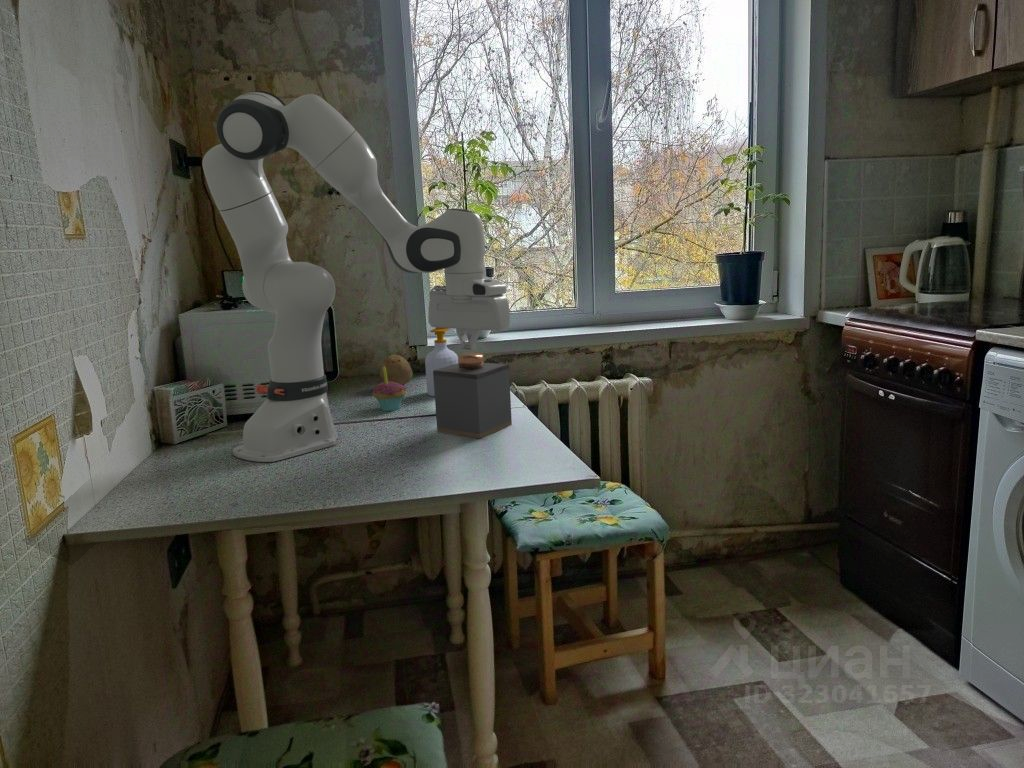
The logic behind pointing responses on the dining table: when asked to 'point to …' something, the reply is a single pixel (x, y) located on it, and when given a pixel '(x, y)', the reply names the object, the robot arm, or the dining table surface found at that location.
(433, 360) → the soap bottle
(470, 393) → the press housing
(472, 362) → the plunger
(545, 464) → the dining table surface
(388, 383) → the cupcake
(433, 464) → the dining table surface
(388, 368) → the natural sponge
